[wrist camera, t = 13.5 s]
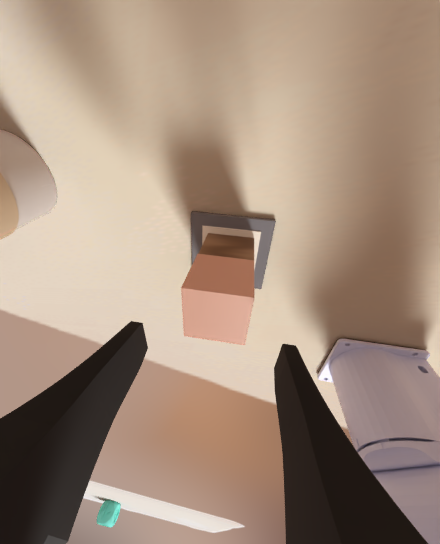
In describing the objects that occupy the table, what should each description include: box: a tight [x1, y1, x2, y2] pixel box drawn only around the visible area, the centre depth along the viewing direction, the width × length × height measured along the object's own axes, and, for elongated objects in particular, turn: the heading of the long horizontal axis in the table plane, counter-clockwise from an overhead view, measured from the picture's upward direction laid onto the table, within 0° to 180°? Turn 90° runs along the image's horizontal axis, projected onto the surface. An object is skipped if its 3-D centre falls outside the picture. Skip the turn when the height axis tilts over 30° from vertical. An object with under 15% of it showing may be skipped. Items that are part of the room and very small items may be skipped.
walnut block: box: [198, 233, 254, 260], centre depth 17 cm, size 4×4×4 cm
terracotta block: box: [181, 254, 254, 345], centre depth 14 cm, size 4×4×4 cm
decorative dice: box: [97, 500, 120, 527], centre depth 109 cm, size 8×8×8 cm
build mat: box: [191, 211, 276, 289], centre depth 19 cm, size 7×7×1 cm
